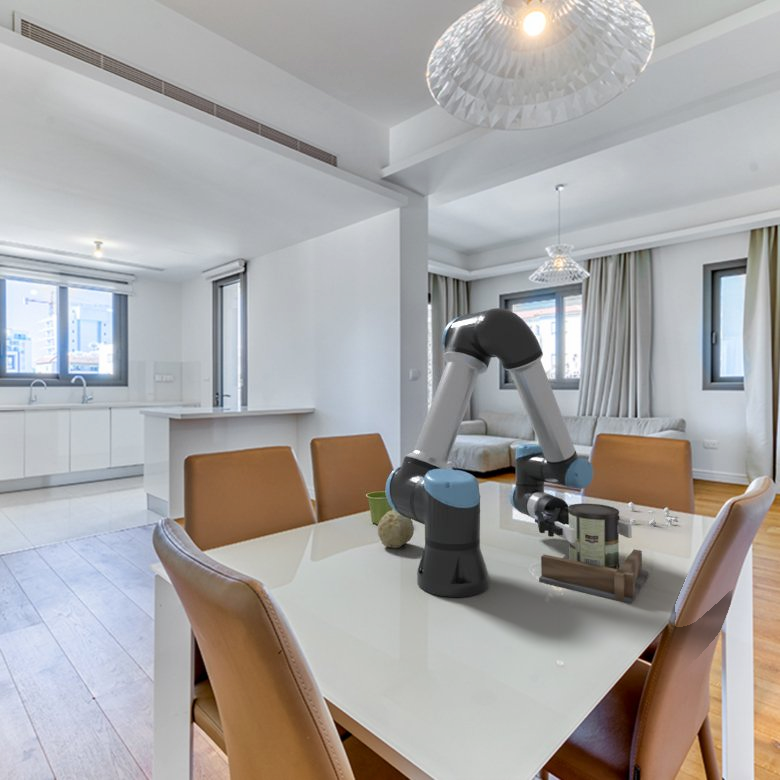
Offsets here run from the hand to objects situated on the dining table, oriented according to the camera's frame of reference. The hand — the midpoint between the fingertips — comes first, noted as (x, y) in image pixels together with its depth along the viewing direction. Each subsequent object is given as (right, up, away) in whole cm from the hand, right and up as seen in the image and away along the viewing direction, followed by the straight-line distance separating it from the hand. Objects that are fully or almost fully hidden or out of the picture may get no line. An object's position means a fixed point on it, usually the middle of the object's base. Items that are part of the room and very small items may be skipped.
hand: (602, 533), depth 102 cm
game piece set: (+35, -11, +50) cm, 62 cm away
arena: (-1, -10, +3) cm, 11 cm away
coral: (-44, -11, +25) cm, 52 cm away
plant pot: (-48, -11, +49) cm, 69 cm away
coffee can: (0, -10, +3) cm, 10 cm away
